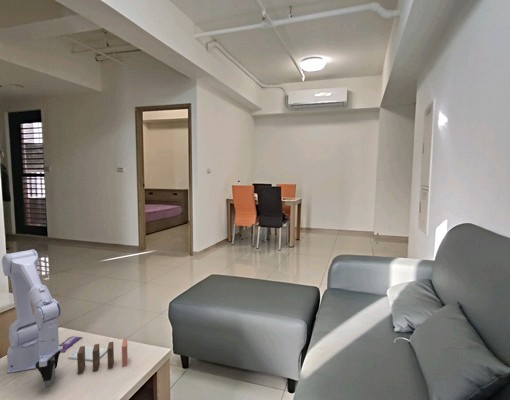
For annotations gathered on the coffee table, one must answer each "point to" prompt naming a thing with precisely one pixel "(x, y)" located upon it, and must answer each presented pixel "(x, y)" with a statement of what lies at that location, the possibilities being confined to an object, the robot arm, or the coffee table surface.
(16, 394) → the coffee table surface
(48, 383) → the domino
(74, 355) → the hard drive
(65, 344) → the snack package
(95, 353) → the domino
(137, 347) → the coffee table surface
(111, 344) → the domino
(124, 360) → the domino
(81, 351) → the domino
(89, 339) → the coffee table surface
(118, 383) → the coffee table surface
